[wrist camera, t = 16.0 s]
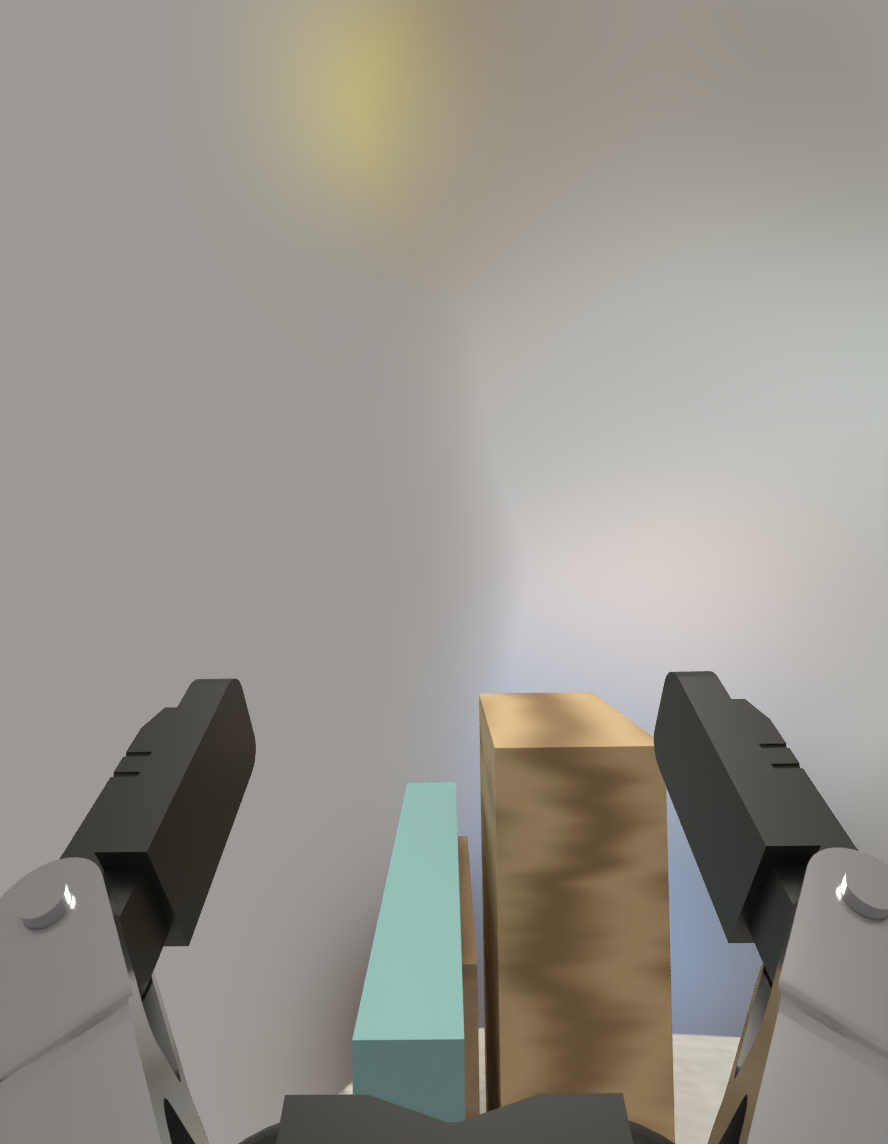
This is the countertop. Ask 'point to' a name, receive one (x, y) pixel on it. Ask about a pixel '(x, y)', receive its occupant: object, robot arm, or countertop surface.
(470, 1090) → the step
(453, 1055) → the rail
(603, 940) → the stand
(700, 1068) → the countertop surface
